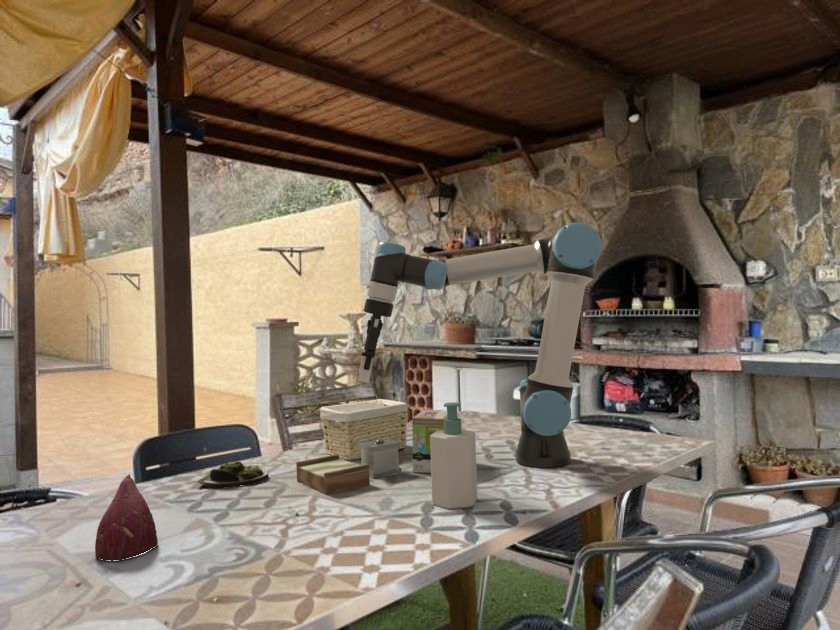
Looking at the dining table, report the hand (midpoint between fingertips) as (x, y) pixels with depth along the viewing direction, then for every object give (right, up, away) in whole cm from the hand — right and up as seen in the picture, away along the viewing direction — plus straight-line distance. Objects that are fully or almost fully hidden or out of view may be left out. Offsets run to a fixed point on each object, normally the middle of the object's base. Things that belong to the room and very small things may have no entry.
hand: (363, 377), depth 160 cm
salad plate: (-34, -27, -1) cm, 44 cm away
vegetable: (-39, -27, -49) cm, 69 cm away
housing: (+5, -26, +1) cm, 26 cm away
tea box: (+20, -25, +6) cm, 32 cm away
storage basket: (-2, -26, +27) cm, 38 cm away
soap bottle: (+23, -25, -27) cm, 43 cm away
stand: (-7, -26, -8) cm, 28 cm away
